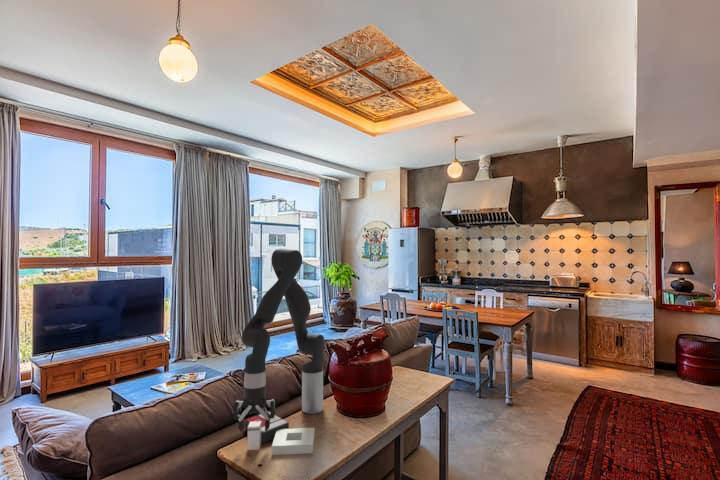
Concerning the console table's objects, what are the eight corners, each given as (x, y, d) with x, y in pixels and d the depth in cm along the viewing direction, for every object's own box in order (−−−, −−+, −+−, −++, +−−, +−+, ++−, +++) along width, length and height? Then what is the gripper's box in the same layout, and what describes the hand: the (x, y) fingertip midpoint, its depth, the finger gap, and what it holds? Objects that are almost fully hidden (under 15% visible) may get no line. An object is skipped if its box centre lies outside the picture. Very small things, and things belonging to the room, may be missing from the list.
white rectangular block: (249, 444, 131) (250, 421, 131) (261, 443, 131) (261, 421, 131) (247, 450, 127) (247, 426, 127) (259, 449, 127) (259, 426, 127)
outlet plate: (276, 437, 135) (276, 429, 136) (314, 435, 137) (314, 427, 137) (271, 455, 123) (271, 446, 124) (312, 453, 125) (312, 444, 125)
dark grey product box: (268, 410, 149) (289, 420, 138) (269, 420, 149) (289, 432, 138) (243, 419, 141) (263, 431, 131) (244, 430, 141) (263, 443, 130)
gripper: (276, 379, 134) (276, 424, 133) (237, 380, 133) (236, 426, 132) (273, 387, 126) (272, 434, 126) (231, 388, 125) (230, 436, 124)
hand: (254, 430), depth 129 cm, fingers open, 8 cm apart
